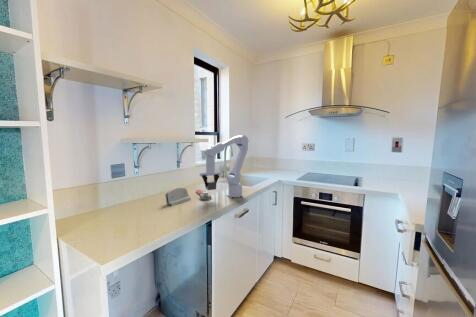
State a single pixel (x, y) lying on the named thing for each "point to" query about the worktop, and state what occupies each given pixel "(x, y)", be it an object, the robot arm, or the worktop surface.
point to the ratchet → (203, 195)
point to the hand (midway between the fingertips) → (210, 186)
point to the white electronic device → (177, 196)
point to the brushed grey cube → (211, 185)
